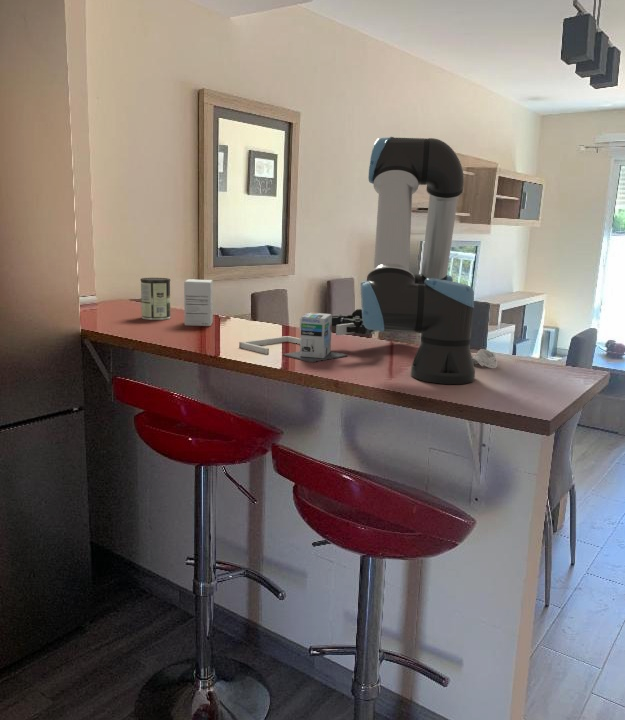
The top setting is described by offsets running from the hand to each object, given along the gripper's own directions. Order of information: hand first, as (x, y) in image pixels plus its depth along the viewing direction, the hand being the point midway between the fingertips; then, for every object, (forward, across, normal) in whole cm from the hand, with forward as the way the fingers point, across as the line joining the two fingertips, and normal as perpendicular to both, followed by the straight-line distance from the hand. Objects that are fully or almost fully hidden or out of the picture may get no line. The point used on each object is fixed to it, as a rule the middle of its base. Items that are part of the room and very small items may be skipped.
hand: (318, 326), depth 174 cm
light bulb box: (+1, 0, -8) cm, 8 cm away
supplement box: (-6, +62, -8) cm, 62 cm away
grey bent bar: (+1, +15, -8) cm, 17 cm away
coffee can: (-1, +81, -8) cm, 81 cm away
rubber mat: (+1, 0, -8) cm, 8 cm away
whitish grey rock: (-27, -36, -8) cm, 46 cm away
